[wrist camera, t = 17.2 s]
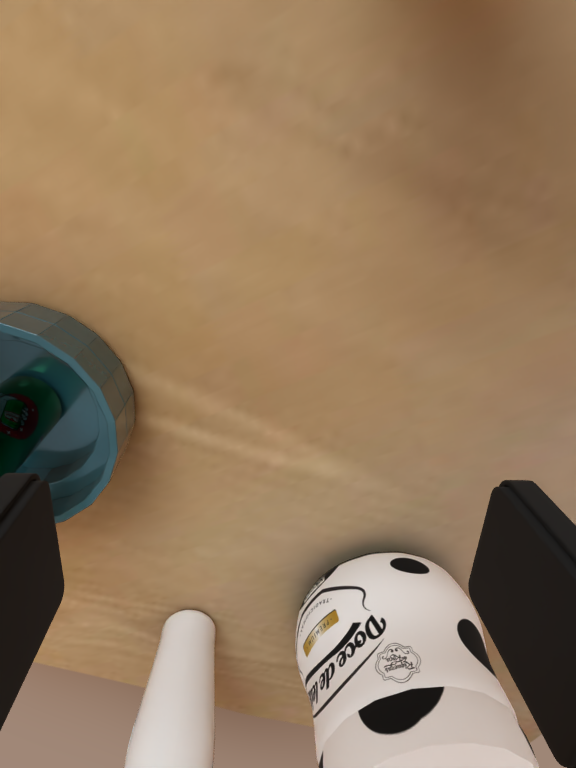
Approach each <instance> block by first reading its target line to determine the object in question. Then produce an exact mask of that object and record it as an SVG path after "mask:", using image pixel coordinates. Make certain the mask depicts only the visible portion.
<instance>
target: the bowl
mask: <svg viewBox="0 0 576 768" xmlns="http://www.w3.org/2000/svg"><path fill="white" fill-rule="evenodd" d="M15 376H29V377H33V378H36V379H39V380H41V381H43V382H45V383H46V384H47V385H49V386H50V387H51V388H52V389H53V390H54V392H55V393H56V394H57V396H58V398H59V400H60V403H61V417H60V419H59V421H58V423H57V424H56V426H55V427H54V428H53V429H52V430H51V431H50V433H49V434H48V435H47V436H46V437H45V438H44V440H43V441H42V442H41V443H40V444H39V446H38V447H37V448H36V449H35V450H34V451H33V453H32V454H31V455H30V456H29V457H28V458H27V460H26V461H25V462H24V463H23V464H22V466H21V467H20V468H19V469H18V470H17V471H16V473H36V474H38V475H39V477H40V479H41V481H47V482H48V483H49V487H50V492H51V499H52V505H53V512H54V519H55V524H56V523H60V522H63V521H66V520H67V519H69V518H71V517H72V516H74V515H75V514H77V513H79V512H80V511H82V510H84V509H85V508H87V507H88V506H90V505H91V504H92V503H93V502H94V501H95V499H96V498H97V497H98V496H99V494H100V493H101V492H102V491H103V489H104V488H105V487H106V486H107V484H108V483H109V482H110V480H111V478H112V476H113V474H114V472H115V470H116V468H117V466H118V464H119V462H120V460H121V458H122V456H123V454H124V452H125V450H126V448H127V445H128V442H129V439H130V436H131V433H132V429H133V426H134V423H135V407H134V392H133V389H132V387H131V385H130V382H129V380H128V378H127V375H126V373H125V371H124V368H123V366H122V364H121V362H120V360H119V359H118V358H117V357H116V356H115V355H114V353H113V352H112V351H111V350H110V349H109V347H108V346H107V345H106V344H105V343H104V342H103V340H102V339H101V338H100V337H99V336H98V335H97V334H96V333H94V332H93V331H91V330H90V329H88V328H87V327H85V326H84V325H82V324H81V323H79V322H78V321H76V320H75V319H73V318H72V317H70V316H68V315H66V314H63V313H60V312H57V311H54V310H51V309H48V308H45V307H42V306H40V305H37V304H33V303H20V302H0V384H1V383H2V382H3V381H5V380H7V379H9V378H11V377H15Z"/></svg>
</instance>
